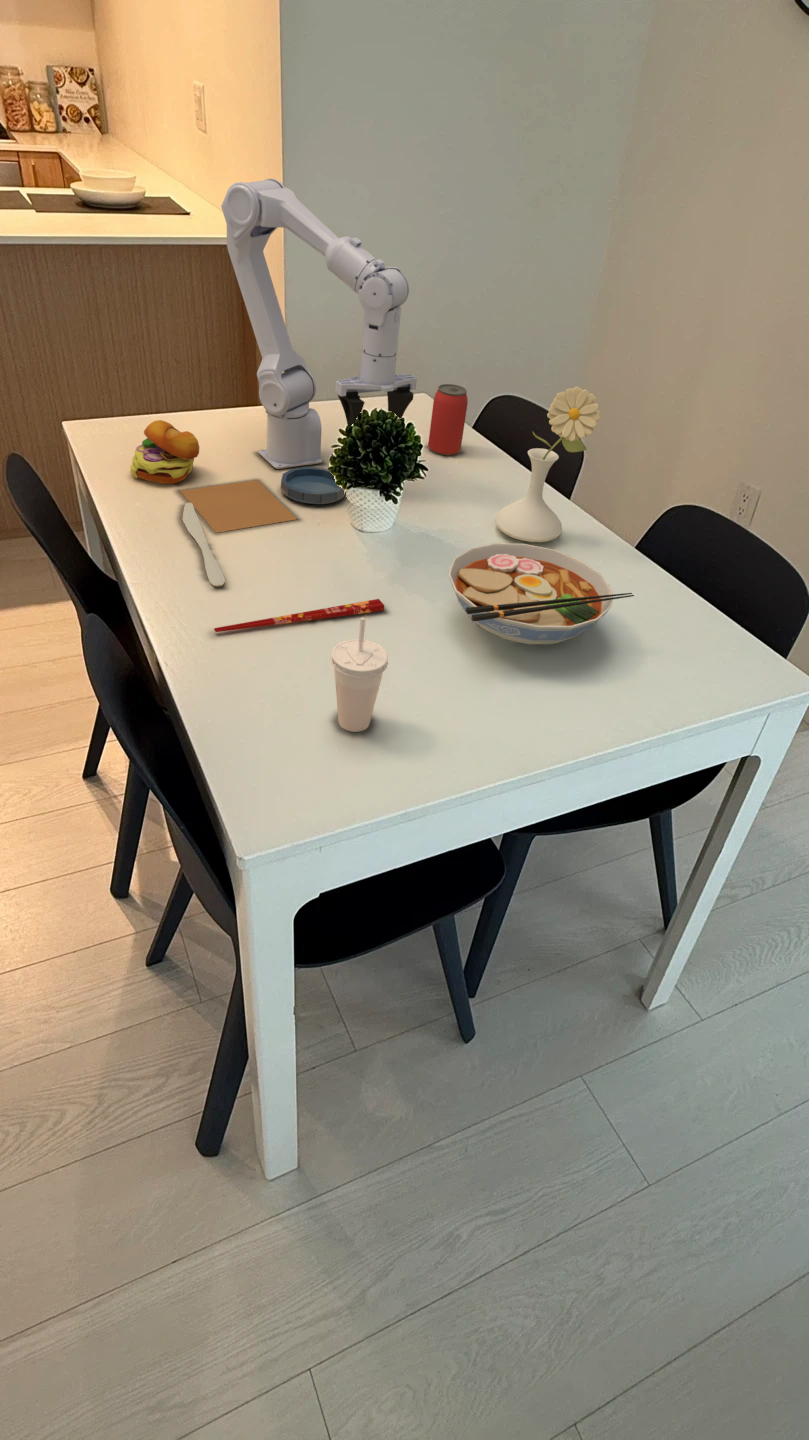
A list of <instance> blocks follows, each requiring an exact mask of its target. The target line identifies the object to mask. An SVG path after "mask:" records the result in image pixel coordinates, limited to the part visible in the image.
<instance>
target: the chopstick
mask: <svg viewBox="0 0 809 1440" xmlns="http://www.w3.org/2000/svg"><path fill="white" fill-rule="evenodd" d="M383 611H385V604H384V603H383V602H382V600H380V598H376V599H369V600H364V601H359V602H358V601H357V602H352V603H347V604H341V605H336V606H331V607H325V608H320V609H314V610H308V611H303V612H297V613H291V614H285V615H280V616H274V617H268V618H263V619H257V620H252V621H247V622H246V621H245V622H241V623H234V624H230V625H224V626H218V627H214V628H213V630H214V633H221V632H227V631H229V632H230V631H237V630H243V629H245V630H246V629H253V628H258V627H268V626H275V625H282V624H290V623H298V622H306V621H315V620H322V619H331V618H337V617H345V616H352V615H362V614H370V613H377V612H383Z"/></svg>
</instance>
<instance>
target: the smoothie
mask: <svg viewBox="0 0 809 1440" xmlns="http://www.w3.org/2000/svg"><path fill="white" fill-rule="evenodd" d="M359 620H360V621H359V631H358V638H352V639H347V640H343V641H340V642H338V643H337V644H336V645H334V647H333V648H332V650H331V657H330V662H331V665H332V667H333V672H334V684H335V697H336V708H337V720H338V721H337V722H338V725H339V726H340V727H341V728H342V729H343V730H346V731H348V732H352V733H359V732H363V731H365V730H367V729H368V728H369V727H370V725H371V720H372V716H373V712H374V709H375V705H376V701H377V696H378V693H379V689H380V685H381V682H382V680H383V679H382V678H383V675H384V672H385V671H386V670H387V668H388V665H389V662H388V661H389V654H388V652H387V650H386V649H385V648H384V647H383V646H381V644H378V643H377V642H374V641H372V640H367V639H365V631H366V630H365V629H366V617H363V616H361V617H360V619H359Z"/></svg>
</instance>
